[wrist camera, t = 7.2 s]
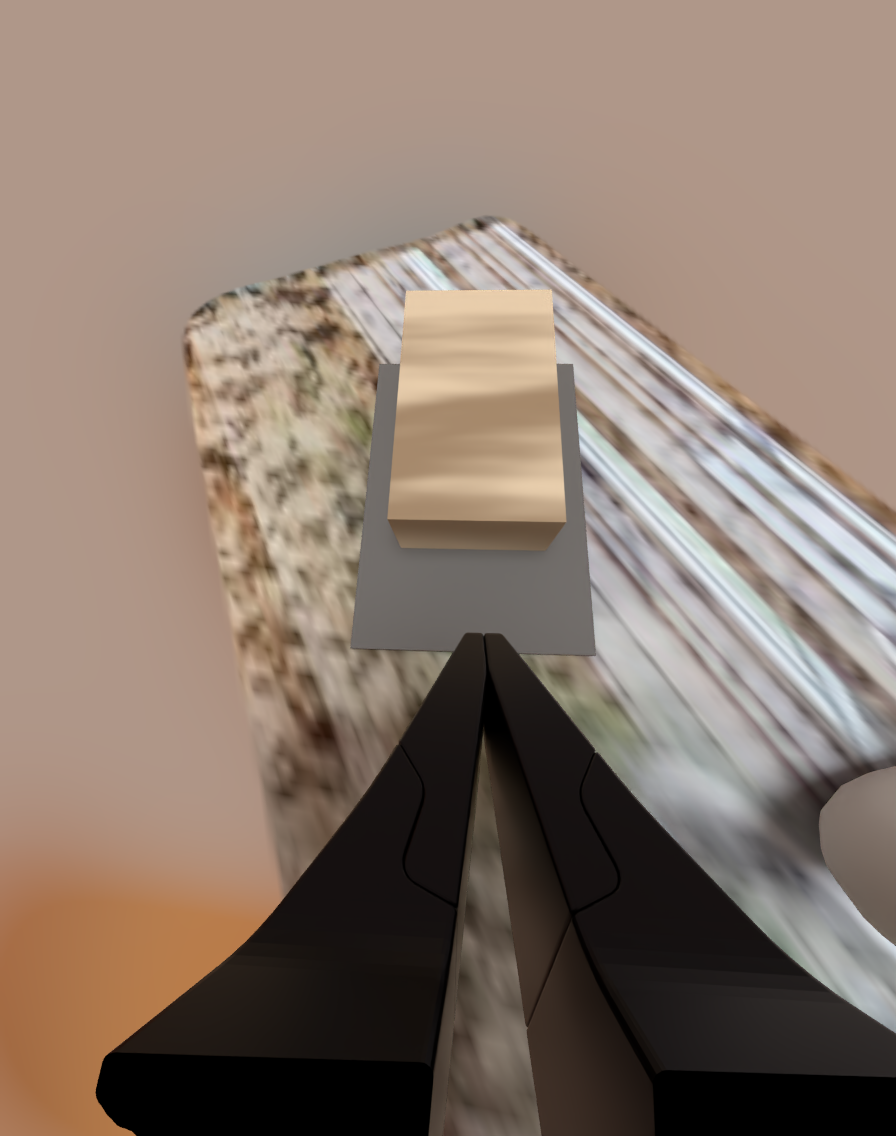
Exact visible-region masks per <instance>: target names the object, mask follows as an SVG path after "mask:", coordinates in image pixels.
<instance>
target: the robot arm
mask: <svg viewBox="0 0 896 1136" xmlns="http://www.w3.org/2000/svg"><path fill="white" fill-rule="evenodd" d="M483 731H484V741H485V748H486V755H487V762H488V769H489V776H490V783H491V790H492V797H493V803H494V810H495V817H496V824H497V831H498V838H499V845H500V852H501V858H502V865H503V872H504V879H505V886H506V893H507V900H508V907H509V913H510V920H511V927H512V934H513V941H514V948H515V955H516V962H517V968H518V975H519V982H520V989H521V996H522V1003H523V1010H524V1016H525V1023H526V1026H527V1027H528V1029H527V1038H528V1045H529V1052H530V1058H531V1065H532V1072H533V1079H534V1086H535V1093H536V1100H537V1106H538V1113H539V1120H540V1127H541V1134H542V1136H896V1033H894V1032H893V1031H891V1030H890V1029H888V1028H887V1027H885V1026H883V1025H882V1024H880V1023H879V1022H877V1021H876V1020H874V1019H873V1018H871V1017H870V1016H868V1015H867V1014H865V1013H864V1012H862V1011H861V1010H859V1009H858V1008H856V1007H855V1006H853V1005H852V1004H850V1003H849V1002H847V1001H846V1000H844V999H843V998H841V997H840V996H838V995H837V994H835V993H834V992H833V991H832V990H830V989H829V988H828V987H826V986H825V985H824V984H822V983H821V982H820V981H818V980H817V979H816V978H814V977H813V976H812V975H811V974H810V973H808V972H807V971H806V970H805V969H804V968H802V967H801V966H800V965H799V964H798V963H796V962H795V961H794V960H793V959H792V958H790V957H789V956H788V955H787V954H786V953H785V952H784V951H783V950H782V949H781V948H780V947H778V946H777V945H776V944H775V943H774V942H773V941H772V940H771V939H770V938H769V937H768V936H767V935H766V934H765V933H764V932H763V931H762V930H761V929H760V928H759V927H758V926H757V925H756V924H755V923H754V922H753V921H752V920H751V919H750V918H749V917H748V916H747V915H746V914H745V913H744V912H743V911H742V910H741V909H740V908H739V906H738V905H737V904H736V903H735V902H734V901H733V900H732V899H731V898H730V897H729V896H728V895H727V894H726V893H725V892H724V891H723V890H722V889H721V888H720V887H719V886H718V885H717V884H716V882H715V881H714V880H713V879H712V878H711V877H710V876H709V875H708V874H707V873H706V872H705V871H704V870H703V869H702V868H701V867H700V866H699V865H698V864H697V863H696V862H695V861H694V860H693V858H692V857H691V856H690V855H689V854H688V853H687V852H686V851H685V850H684V849H683V848H682V847H681V846H680V845H679V844H678V843H677V842H676V841H675V840H674V839H673V838H672V837H671V836H670V834H669V833H668V832H667V831H666V830H665V829H664V828H663V827H662V826H661V825H660V824H659V823H658V822H657V820H656V819H655V818H654V817H653V816H652V815H651V814H650V813H649V812H648V811H647V810H646V809H645V807H644V806H643V805H642V804H641V803H640V802H639V801H638V800H637V799H636V798H635V796H634V795H633V794H632V793H631V792H630V791H629V789H628V788H627V787H626V786H625V785H624V783H623V782H622V781H621V780H620V779H619V778H618V776H617V775H616V774H615V773H614V772H613V770H612V769H611V768H610V767H609V765H608V764H607V763H606V762H605V760H604V759H603V758H602V757H601V755H600V754H599V753H597V752H596V753H595V748H594V747H593V746H592V745H591V743H590V742H589V741H588V740H587V738H586V737H585V736H584V735H583V733H582V732H581V731H580V730H579V728H578V727H577V726H576V725H575V723H574V722H573V721H572V720H571V718H570V717H569V716H568V715H567V713H566V712H565V711H564V710H563V709H562V707H561V706H560V705H559V704H558V702H557V701H556V700H555V699H554V697H553V696H552V695H551V694H550V692H549V691H548V690H547V689H546V687H545V686H544V685H543V684H542V682H541V681H540V680H539V679H538V677H537V676H536V675H535V674H534V673H533V671H532V670H531V669H530V668H529V666H528V665H527V664H526V663H525V661H524V660H523V659H522V658H521V656H520V655H519V654H518V653H517V651H516V650H515V649H514V648H513V646H512V645H511V644H510V643H509V641H508V640H507V639H506V638H505V637H504V635H503V634H501V633H485V634H484V636H483V634H482V633H471V632H467V633H465V634H464V635H463V637H462V639H461V640H460V642H459V644H458V645H457V647H456V649H455V650H454V652H453V653H452V655H451V657H450V658H449V660H448V662H447V663H446V665H445V667H444V668H443V670H442V671H441V673H440V675H439V676H438V678H437V680H436V681H435V683H434V685H433V686H432V688H431V690H430V691H429V693H428V694H427V696H426V698H425V699H424V701H423V703H422V704H421V706H420V708H419V709H418V711H417V712H416V714H415V716H414V717H413V719H412V721H411V722H410V724H409V726H408V727H407V729H406V731H405V732H404V734H403V735H402V737H401V739H400V740H399V745H396V747H395V748H394V750H393V751H392V753H391V755H390V756H389V758H388V760H387V761H386V763H385V764H384V766H383V767H382V769H381V771H380V772H379V774H378V775H377V777H376V778H375V780H374V781H373V783H372V784H371V786H370V787H369V789H368V790H367V791H366V793H365V794H364V795H363V797H362V798H361V800H360V801H359V802H358V804H357V805H356V806H355V808H354V809H353V810H352V812H351V813H350V814H349V816H348V817H347V818H346V820H345V821H344V822H343V824H342V825H341V826H340V827H339V829H338V830H337V831H336V832H335V834H334V835H333V836H332V838H331V839H330V840H329V841H328V843H327V844H326V845H325V847H324V848H323V849H322V850H321V852H320V853H319V854H318V856H317V857H316V858H315V859H314V861H313V862H312V863H311V864H310V866H309V867H308V868H307V870H306V871H305V872H304V873H303V875H302V876H301V877H300V879H299V880H298V881H297V882H296V884H295V885H294V886H293V888H292V889H291V890H290V891H289V893H288V894H287V895H286V897H285V898H284V899H283V900H282V901H281V903H280V904H279V905H278V906H277V908H276V909H275V910H274V911H273V913H272V914H271V915H270V916H269V917H268V918H267V920H266V921H265V922H264V923H263V924H262V925H261V926H260V927H259V928H258V930H257V931H256V932H255V933H254V934H253V935H252V936H251V937H250V938H249V939H248V940H247V941H246V942H245V943H244V944H243V945H242V946H240V947H239V948H238V949H237V950H236V951H235V952H234V953H233V954H232V955H231V956H230V957H228V958H227V959H226V960H225V961H224V962H222V963H221V964H220V965H219V966H218V967H216V968H215V969H214V970H213V971H212V972H210V973H209V974H208V975H206V976H205V977H204V978H203V979H201V980H200V981H199V982H198V983H196V984H195V985H194V986H193V987H192V988H190V989H189V990H188V991H187V992H185V993H184V994H183V995H181V996H180V997H179V998H178V999H176V1000H175V1001H174V1002H173V1003H171V1004H170V1005H169V1006H168V1007H166V1008H165V1009H164V1010H163V1011H162V1012H160V1013H159V1014H158V1015H157V1016H155V1017H154V1018H153V1019H151V1020H150V1021H149V1022H148V1023H147V1024H145V1025H144V1026H143V1027H141V1028H140V1029H139V1030H138V1031H136V1032H135V1033H134V1034H133V1035H131V1036H130V1037H129V1038H128V1039H126V1040H125V1041H124V1042H123V1043H122V1044H120V1045H119V1046H118V1047H116V1048H115V1049H114V1050H113V1051H111V1052H110V1053H109V1054H108V1055H106V1056H105V1058H104V1060H103V1062H102V1066H101V1070H100V1075H99V1079H98V1083H97V1087H96V1098H97V1100H98V1102H99V1103H100V1105H101V1106H102V1107H103V1109H104V1111H105V1112H106V1114H107V1115H108V1116H109V1117H110V1118H111V1119H112V1120H113V1121H114V1122H115V1123H116V1125H118V1126H119V1127H122V1128H125V1129H128V1130H130V1131H132V1132H133V1133H134V1134H135V1135H136V1136H443V1131H444V1121H445V1111H446V1101H447V1091H448V1081H449V1071H450V1061H451V1051H452V1040H453V1030H454V1019H455V1010H456V1000H457V990H458V980H459V970H460V960H461V950H462V940H463V930H464V920H465V910H466V900H467V890H468V880H469V870H470V859H471V849H472V839H473V829H474V819H475V809H476V799H477V789H478V779H479V769H480V759H481V749H482V737H483Z"/></svg>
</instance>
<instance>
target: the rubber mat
mask: <svg viewBox="0 0 896 1136" xmlns="http://www.w3.org/2000/svg"><path fill="white" fill-rule="evenodd" d="M556 365H557V381H558V397H559V412H560V428H561V444H562V460H563V475H564V491H565V507H566V523H565V525H564V526H563V528H562V529H561V530H560V532H559V533H558V534H557V536H556V537H555V539H554V540H553V541H552V543H551V544H550V545H549V547H548V548H547V549H546V551H529V550H478V549H427V548H401V547H400V544H399V542H398V540H397V538H396V536H395V534H394V532H393V530H392V528H391V526H390V524H389V522H388V520H387V517H388V505H389V493H390V481H391V469H392V457H393V445H394V433H395V421H396V409H397V397H398V385H399V373H400V364H380V365H379V375H378V384H377V394H376V404H375V414H374V423H373V433H372V443H371V453H370V462H369V472H368V482H367V492H366V501H365V511H364V521H363V531H362V541H361V550H360V560H359V570H358V580H357V589H356V599H355V609H354V619H353V628H352V638H351V648H356V649H389V650H422V651H454V650H455V649H456V647H457V645H458V644H459V642H460V640H461V639H462V637H463V635H464V634H465V633H467V632H471V633H482V634H483V636H484V634H485V633H501V634H503V635H504V637H505V638H506V639H507V640H508V641H509V643H510V644H511V645H512V646H513V648H514V649H515V650H516V651H517V653H521V654H554V655H587V656H596V651H595V639H594V626H593V613H592V600H591V588H590V575H589V562H588V550H587V537H586V524H585V512H584V499H583V486H582V473H581V461H580V448H579V435H578V423H577V410H576V397H575V385H574V372H573V364H556Z"/></svg>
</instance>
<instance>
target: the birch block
mask: <svg viewBox="0 0 896 1136" xmlns="http://www.w3.org/2000/svg"><path fill="white" fill-rule="evenodd" d="M387 520H388V522H389V524H390V526H391V528H392V530H393V532H394V534H395V536H396V538H397V540H398V542H399V544H400V547H401V548H427V549H478V550H529V551H546V549H547V548H548V547H549V545H550V544H551V543H552V541H553V540H554V539H555V537H556V536H557V534H558V533H559V532H560V530H561V529H562V528H563V526H564V525H565V523H566V507H565V491H564V475H563V460H562V444H561V428H560V412H559V397H558V381H557V365H556V349H555V333H554V318H553V302H552V290H448V291H406V301H405V313H404V325H403V337H402V349H401V361H400V373H399V385H398V397H397V409H396V421H395V433H394V445H393V457H392V469H391V481H390V493H389V505H388V517H387Z"/></svg>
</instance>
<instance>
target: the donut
mask: <svg viewBox="0 0 896 1136" xmlns="http://www.w3.org/2000/svg"><path fill="white" fill-rule="evenodd" d="M819 832H820V844H821V850H822V853H823V857H824V860H825V863H826V866H827V867H828V869H829V870H830V872H831V873H832V875H833V876H834V878H835V879H836V881H837V882H838V884H839V885H840V886H841V888H842V889H843V890H844V892H845V893H846V894H847V896H848V897H849V898H850V900H851V901H852V902H853V904H854V905H855V906H856V908H857V909H858V910H859V912H860V913H861V914H862V916H863V917H864V918H865V919H866V920H867V921H868V922H869V923H870V924H871V925H872V926H873V927H874V928H875V929H876V930H877V931H878V932H879V933H880V934H881V935H883V936H884V937H885V938H886V939H888V940H889V941H890V942H891V943H893V944H894V945H895V946H896V766H893V767H889V768H885V769H880V770H876V771H873V772H870V773H867V774H864V775H862V776H860V777H858V778H856V779H854V780H852V781H850V782H848V783H845V784H843V785H841V786H840V788H839V789H838V790H837V791H836V792H835V794H834V795H833V796H832V797H831V798H830V800H829V801H828V802H827V803H826V805H825V806H824V807H823V808H822V810H821V811H820V818H819Z"/></svg>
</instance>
